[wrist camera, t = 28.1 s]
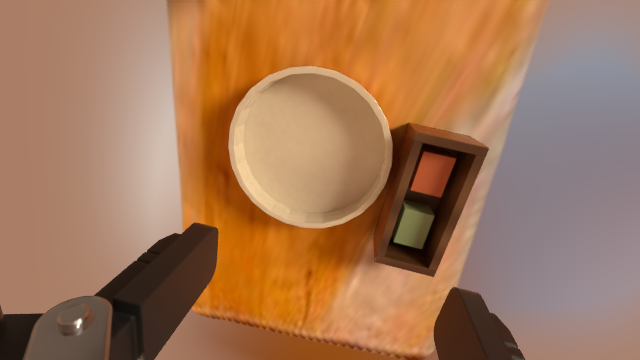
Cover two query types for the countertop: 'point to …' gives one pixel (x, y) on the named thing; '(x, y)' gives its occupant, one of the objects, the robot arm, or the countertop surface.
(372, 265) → the countertop surface
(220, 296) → the countertop surface
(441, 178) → the orange rectangular block
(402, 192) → the holder
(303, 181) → the bowl
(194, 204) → the countertop surface
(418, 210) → the green block
